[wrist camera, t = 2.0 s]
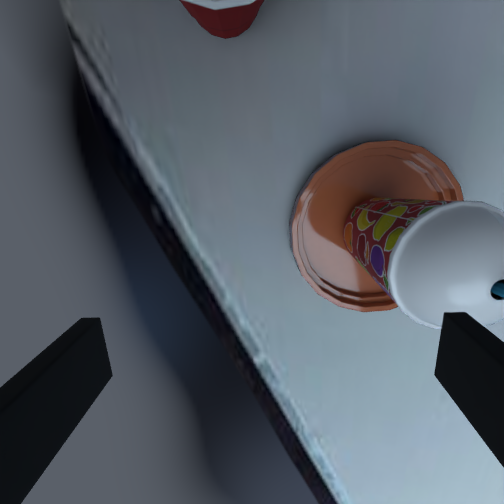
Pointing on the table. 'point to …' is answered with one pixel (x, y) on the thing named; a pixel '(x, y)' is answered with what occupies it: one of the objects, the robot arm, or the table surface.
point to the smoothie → (432, 256)
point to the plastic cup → (223, 15)
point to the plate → (345, 200)
